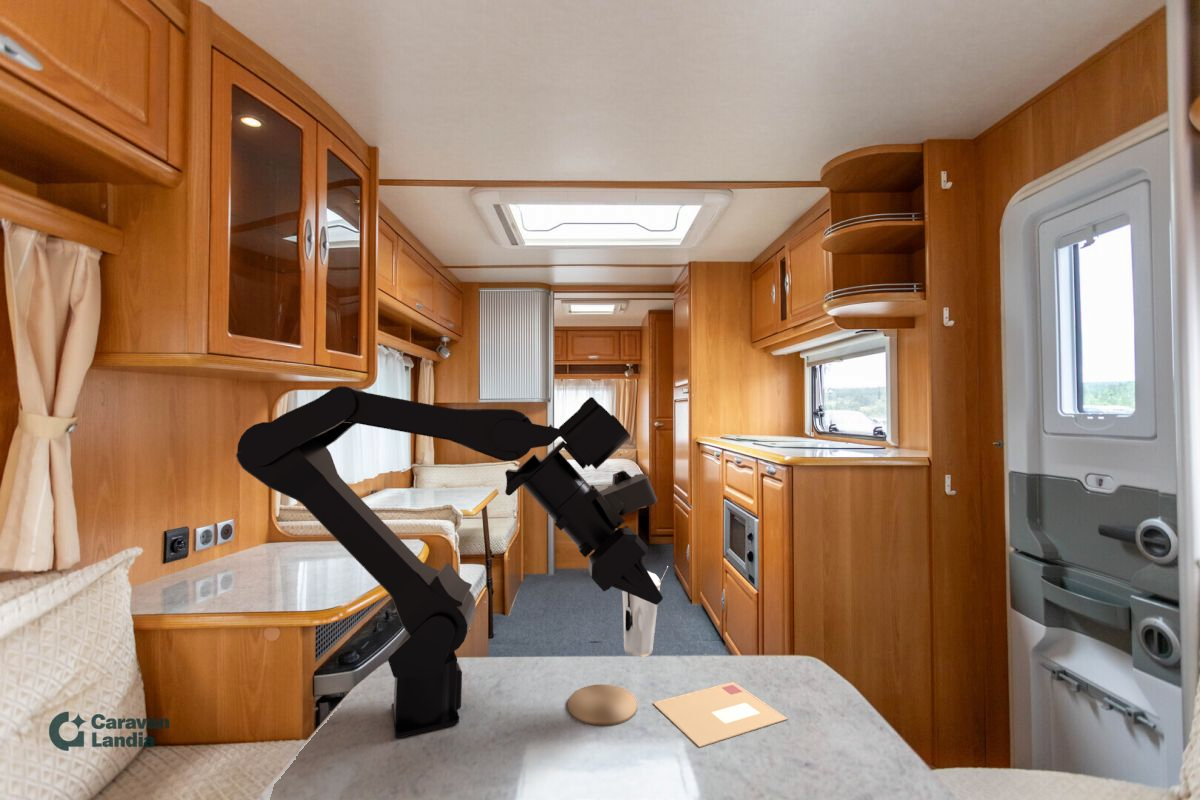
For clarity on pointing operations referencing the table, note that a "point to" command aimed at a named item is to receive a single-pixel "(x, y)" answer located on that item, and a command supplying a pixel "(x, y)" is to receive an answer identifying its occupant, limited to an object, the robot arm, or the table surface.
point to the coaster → (602, 705)
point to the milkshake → (639, 622)
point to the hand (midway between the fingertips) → (655, 594)
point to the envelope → (718, 713)
